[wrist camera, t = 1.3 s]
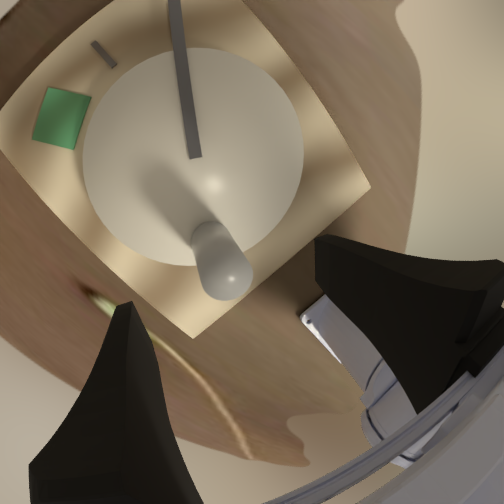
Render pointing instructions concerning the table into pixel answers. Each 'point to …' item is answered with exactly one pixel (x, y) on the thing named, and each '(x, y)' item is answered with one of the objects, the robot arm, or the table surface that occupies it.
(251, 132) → the tuning knob
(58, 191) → the dial board
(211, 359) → the table surface
